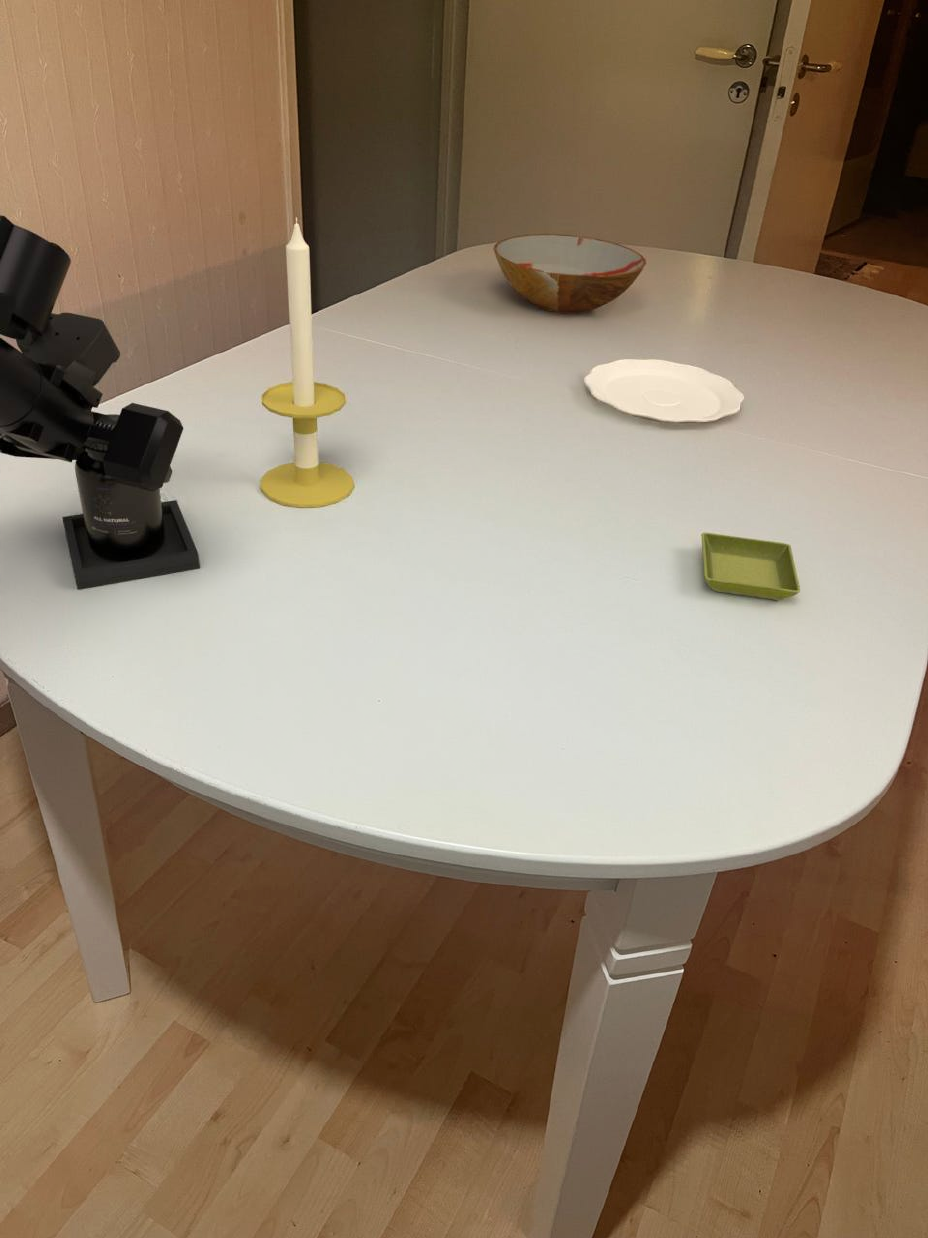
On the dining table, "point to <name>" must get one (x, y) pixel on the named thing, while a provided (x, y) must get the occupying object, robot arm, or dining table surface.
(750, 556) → the olive green square dish
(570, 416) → the dining table surface
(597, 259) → the bowl
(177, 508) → the dock pad
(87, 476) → the supplement bottle
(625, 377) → the plate
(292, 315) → the candle
